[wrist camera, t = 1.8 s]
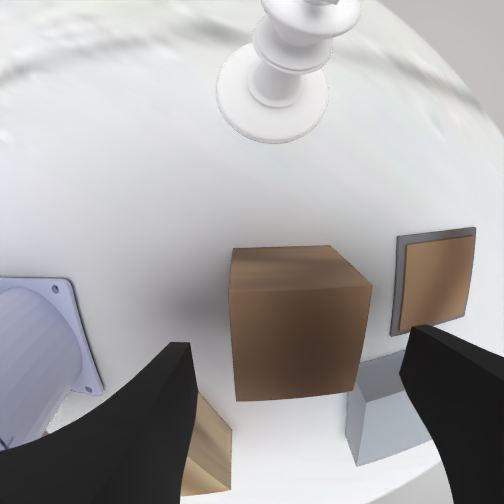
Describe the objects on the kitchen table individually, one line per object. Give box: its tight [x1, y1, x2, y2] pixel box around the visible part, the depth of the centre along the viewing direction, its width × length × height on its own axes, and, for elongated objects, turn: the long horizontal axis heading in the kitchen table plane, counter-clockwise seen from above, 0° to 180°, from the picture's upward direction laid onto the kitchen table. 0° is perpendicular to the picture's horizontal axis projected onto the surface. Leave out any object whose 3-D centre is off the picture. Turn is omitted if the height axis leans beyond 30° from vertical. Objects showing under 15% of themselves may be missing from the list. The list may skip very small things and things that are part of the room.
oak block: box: [180, 391, 232, 496], centre depth 14 cm, size 4×4×5 cm
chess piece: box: [216, 0, 362, 143], centre depth 7 cm, size 5×5×10 cm
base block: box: [345, 350, 432, 467], centre depth 15 cm, size 7×7×4 cm
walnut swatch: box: [390, 227, 476, 337], centre depth 14 cm, size 6×6×1 cm
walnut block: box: [228, 245, 372, 401], centre depth 12 cm, size 4×4×5 cm
